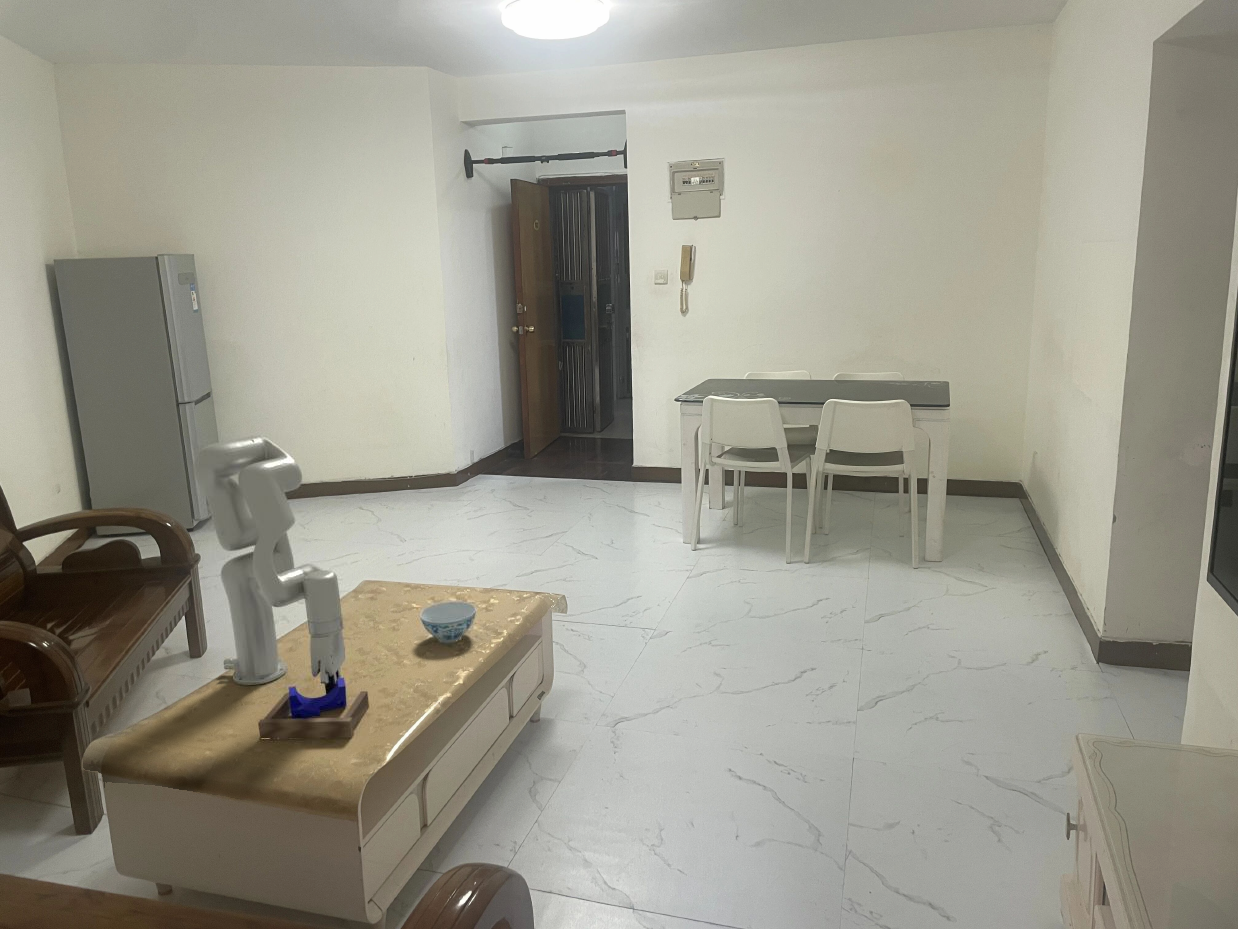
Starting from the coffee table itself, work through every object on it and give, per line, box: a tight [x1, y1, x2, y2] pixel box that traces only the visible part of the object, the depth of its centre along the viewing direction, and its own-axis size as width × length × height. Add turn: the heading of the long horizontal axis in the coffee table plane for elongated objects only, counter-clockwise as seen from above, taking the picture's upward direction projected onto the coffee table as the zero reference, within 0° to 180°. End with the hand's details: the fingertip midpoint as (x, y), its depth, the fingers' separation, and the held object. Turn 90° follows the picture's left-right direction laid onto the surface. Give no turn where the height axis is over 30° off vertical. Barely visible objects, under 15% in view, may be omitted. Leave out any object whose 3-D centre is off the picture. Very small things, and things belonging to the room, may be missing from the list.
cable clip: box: [288, 677, 348, 719], centre depth 193 cm, size 12×4×6 cm, turn 114°
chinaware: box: [419, 600, 477, 644], centre depth 232 cm, size 15×15×8 cm
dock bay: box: [257, 690, 370, 740], centre depth 189 cm, size 20×14×4 cm
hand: (334, 697), depth 199 cm, fingers closed
